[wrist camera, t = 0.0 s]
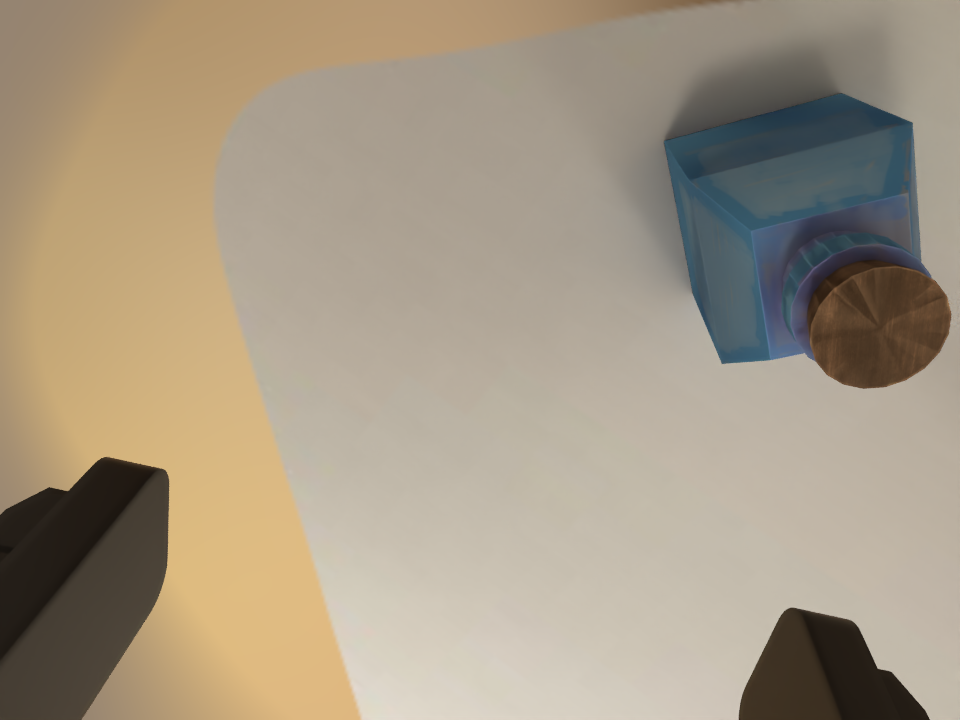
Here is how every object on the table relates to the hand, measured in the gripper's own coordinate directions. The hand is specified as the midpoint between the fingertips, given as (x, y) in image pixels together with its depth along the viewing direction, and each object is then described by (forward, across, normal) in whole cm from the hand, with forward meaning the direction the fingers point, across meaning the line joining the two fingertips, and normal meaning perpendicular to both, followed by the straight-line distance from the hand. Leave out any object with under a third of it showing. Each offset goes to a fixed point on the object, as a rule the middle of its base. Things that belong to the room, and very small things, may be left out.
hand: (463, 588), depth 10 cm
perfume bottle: (+22, -9, -1) cm, 24 cm away
